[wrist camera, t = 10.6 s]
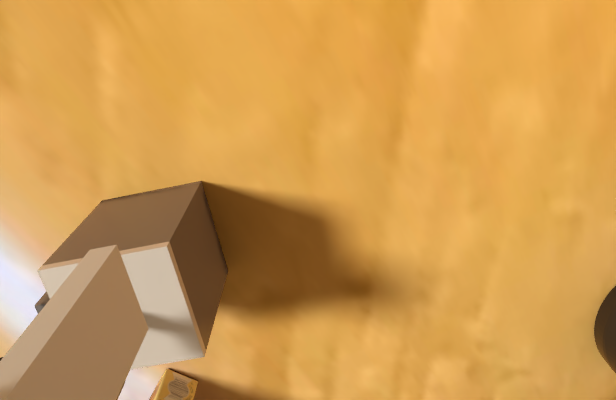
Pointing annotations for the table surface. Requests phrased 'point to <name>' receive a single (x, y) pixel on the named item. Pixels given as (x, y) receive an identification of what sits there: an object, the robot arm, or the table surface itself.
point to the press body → (156, 266)
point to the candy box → (174, 387)
